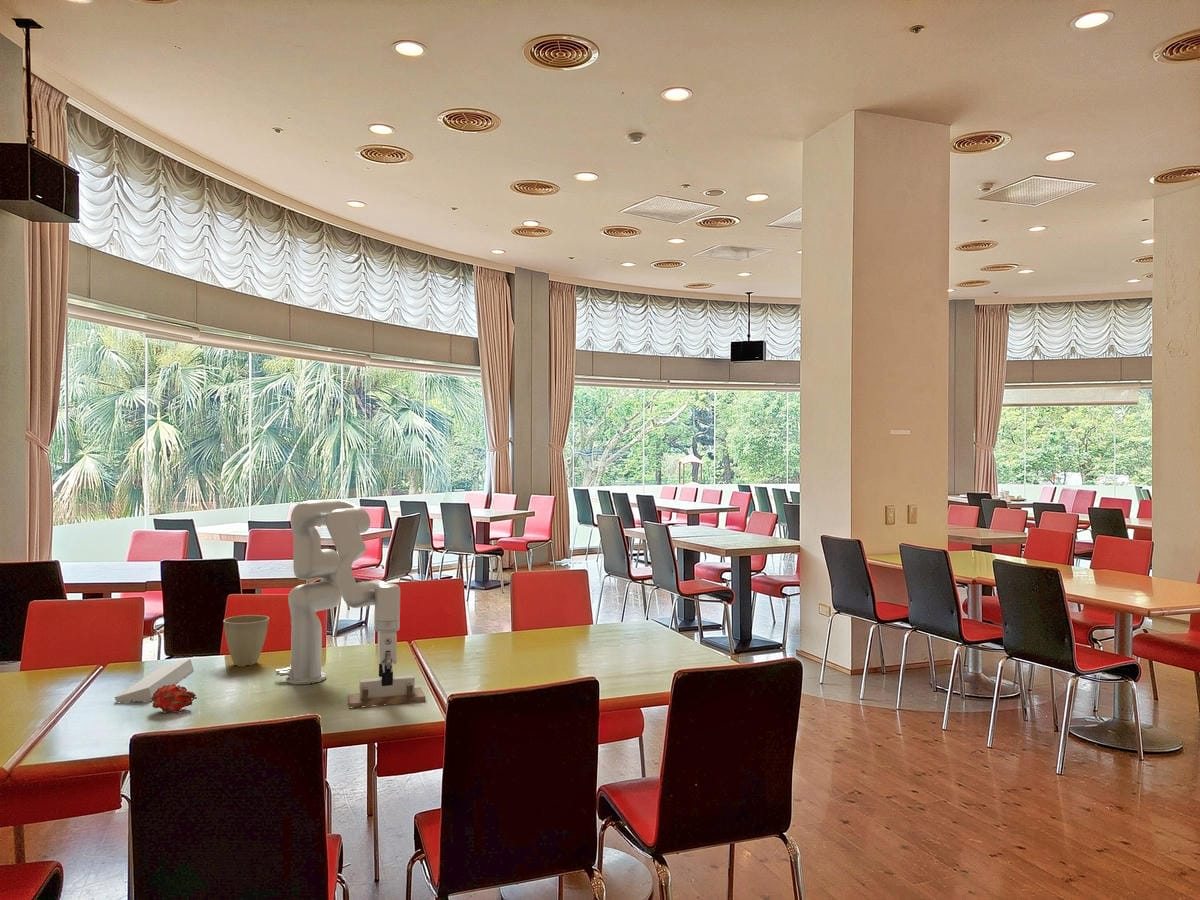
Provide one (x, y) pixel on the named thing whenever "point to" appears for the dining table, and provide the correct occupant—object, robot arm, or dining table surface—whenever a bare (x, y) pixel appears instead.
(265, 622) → the plant pot
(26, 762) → the dining table surface
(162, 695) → the dragon fruit
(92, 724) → the dining table surface
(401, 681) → the clay strip
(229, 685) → the dining table surface
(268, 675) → the dining table surface
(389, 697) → the plank with four pegs
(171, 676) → the white wedge ramp
